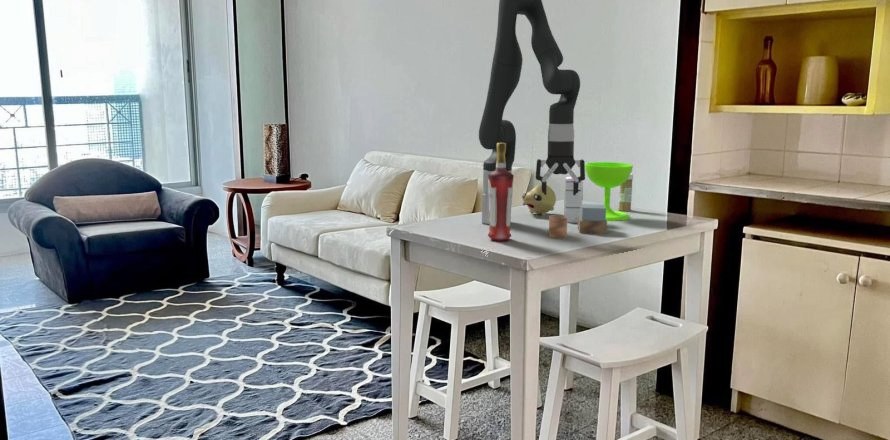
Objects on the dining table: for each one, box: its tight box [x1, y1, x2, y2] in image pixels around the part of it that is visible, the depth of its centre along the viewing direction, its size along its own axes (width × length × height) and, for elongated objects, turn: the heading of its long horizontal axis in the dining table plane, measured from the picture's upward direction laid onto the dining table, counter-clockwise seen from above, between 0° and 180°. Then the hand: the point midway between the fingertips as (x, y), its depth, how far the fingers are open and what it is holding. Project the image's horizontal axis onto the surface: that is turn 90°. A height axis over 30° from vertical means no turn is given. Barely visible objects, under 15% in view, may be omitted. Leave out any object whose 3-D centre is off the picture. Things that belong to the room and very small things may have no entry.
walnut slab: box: [577, 216, 608, 235], centre depth 225 cm, size 8×8×4 cm
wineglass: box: [585, 161, 634, 222], centre depth 249 cm, size 16×16×18 cm
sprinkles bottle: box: [617, 173, 634, 212], centre depth 262 cm, size 5×5×14 cm
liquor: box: [487, 143, 515, 242], centre depth 210 cm, size 7×7×28 cm
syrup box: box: [563, 176, 584, 224], centre depth 241 cm, size 6×6×14 cm
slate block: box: [580, 203, 606, 221], centre depth 225 cm, size 7×7×4 cm
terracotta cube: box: [548, 214, 568, 239], centre depth 217 cm, size 5×5×6 cm
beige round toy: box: [521, 183, 557, 217], centre depth 253 cm, size 10×12×11 cm
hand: (559, 194), depth 215 cm, fingers open, 8 cm apart
